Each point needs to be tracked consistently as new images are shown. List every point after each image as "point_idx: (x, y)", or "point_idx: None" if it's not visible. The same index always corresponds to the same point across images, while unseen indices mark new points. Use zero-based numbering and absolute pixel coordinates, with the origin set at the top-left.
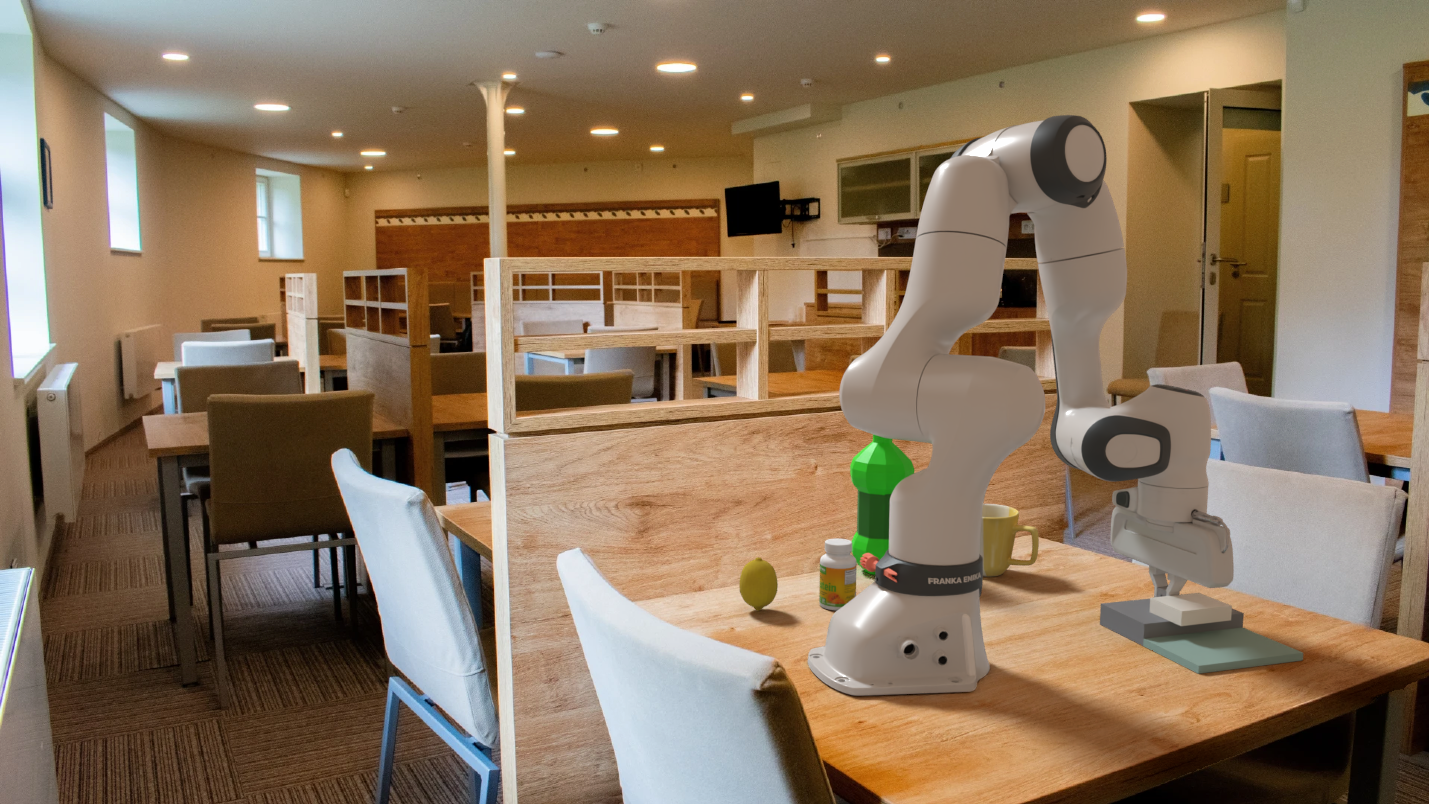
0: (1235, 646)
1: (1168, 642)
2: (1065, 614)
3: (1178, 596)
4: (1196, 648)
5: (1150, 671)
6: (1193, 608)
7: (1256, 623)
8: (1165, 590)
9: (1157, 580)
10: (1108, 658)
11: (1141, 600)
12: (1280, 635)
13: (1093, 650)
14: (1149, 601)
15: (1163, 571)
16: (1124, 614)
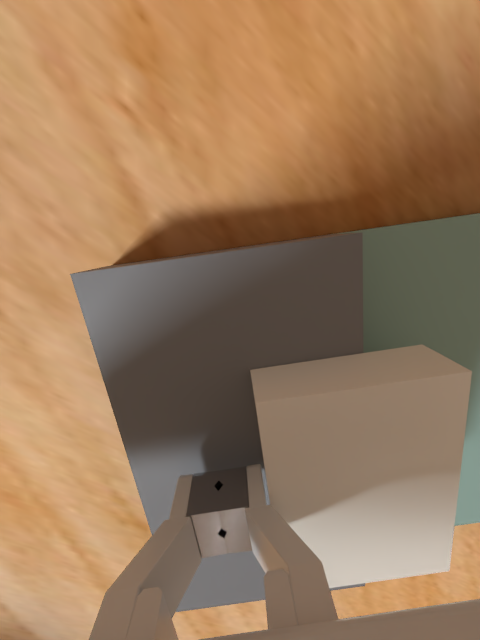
0: (471, 369)
1: None
2: (107, 578)
3: (290, 506)
4: None
5: (462, 563)
6: (438, 525)
7: (230, 87)
8: (245, 548)
9: (180, 587)
10: (380, 597)
11: (154, 508)
12: (367, 91)
13: (334, 604)
14: (168, 492)
15: (167, 630)
16: None
